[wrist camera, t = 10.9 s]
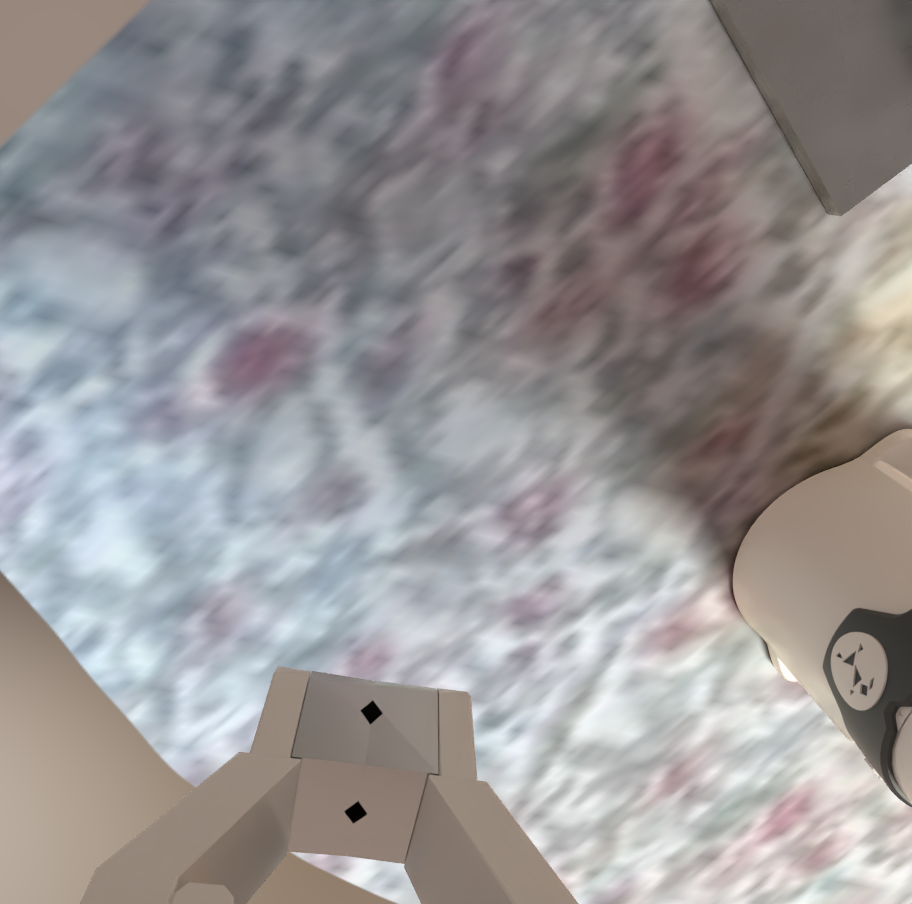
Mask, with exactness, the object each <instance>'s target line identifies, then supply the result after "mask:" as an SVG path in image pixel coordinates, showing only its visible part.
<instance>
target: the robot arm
mask: <svg viewBox="0 0 912 904" xmlns="http://www.w3.org/2000/svg"><path fill="white" fill-rule="evenodd" d="M733 591H734V596H735V600H736V603H737V606H738V608H739V611H740V612H741V614H742V616H743V617H744V619H745V620H746V622H747V623H748V624H749V625H750V626H751V627H752V628H753V629H754V630H755V631H756V632H757V633H758V634H759V635H760V636H761V637H762V638H763V639H764V640H765V642H766V643H767V645H768V649H769V653H770V657H771V660H772V663H773V665H774V667H775V668H776V670H777V671H778V672H779V673H780V674H781V675H782V677H783V678H785V679H786V680H788V681H792V682H799V683H800V684H801V685H802V687H803V688H804V689H805V690H806V691H807V693H808V694H809V695H810V696H811V697H812V698H813V700H814V701H815V702H816V703H817V704H818V705H819V707H820V708H821V709H822V710H823V711H824V712H825V714H826V715H827V716H828V717H829V718H830V719H831V720H832V722H833V723H834V724H835V725H836V726H837V727H838V728H839V730H840V731H841V732H842V733H843V734H844V735H845V736H846V737H847V738H848V739H849V740H850V741H851V742H853V743H854V744H856V745H857V746H858V747H859V749H860V750H861V751H862V753H863V754H864V756H865V757H866V758H865V761H866V762H867V763H868V765H869V766H870V767H871V769H872V770H873V771H874V772H875V774H876V775H877V776H878V777H879V778H880V779H881V780H882V781H883V782H885V783H886V785H887V786H888V787H889V788H890V790H891V791H892V792H893V793H894V794H895V795H896V796H897V797H898V798H899V799H900V800H901V801H903V802H904V803H905V804H907V805H909V806H911V807H912V429H902V430H898V431H896V432H894V433H892V434H890V435H888V436H887V437H885V438H884V439H882V440H881V441H879V442H878V443H877V444H875V445H874V446H873V447H871V448H870V449H869V450H867V451H866V452H865V453H864V454H862V455H861V456H860V457H858V458H856V459H854V460H852V461H850V462H848V463H845V464H843V465H840V466H837V467H834V468H831V469H829V470H826V471H823V472H821V473H818V474H816V475H814V476H812V477H810V478H808V479H806V480H804V481H802V482H800V483H799V484H797V485H795V486H794V487H792V488H791V489H789V490H788V491H786V492H785V493H784V494H782V495H781V496H780V497H779V498H777V499H776V500H775V501H774V502H773V503H772V504H771V505H770V506H769V507H768V508H767V509H766V510H765V511H764V512H763V513H762V514H761V515H760V516H759V517H758V519H757V520H756V521H755V523H754V524H753V525H752V527H751V528H750V530H749V531H748V533H747V534H746V536H745V538H744V540H743V542H742V544H741V546H740V549H739V551H738V554H737V557H736V560H735V565H734V571H733ZM287 851H288V852H301V853H315V854H328V855H341V856H351V857H358V858H365V859H373V860H380V861H388V862H395V863H402V864H405V865H404V868H405V870H406V872H407V874H408V876H409V878H410V881H411V883H412V885H413V887H414V889H415V891H416V893H417V895H418V898H419V900H420V902H421V904H578V903H577V901H576V900H575V899H574V897H573V896H572V895H571V893H570V892H569V891H568V889H567V888H566V887H565V885H564V884H563V883H562V881H561V880H560V879H559V877H558V876H557V875H556V873H555V872H554V871H553V869H552V868H551V867H550V865H549V864H548V863H547V861H546V860H545V859H544V857H543V856H542V855H541V853H540V852H539V851H538V849H537V848H536V847H535V845H534V844H533V843H532V841H531V840H530V839H529V837H528V836H527V835H526V833H525V832H524V831H523V829H522V828H521V827H520V825H519V824H518V823H517V821H516V820H515V819H514V817H513V816H512V815H511V813H510V812H509V811H508V809H507V808H506V807H505V805H504V804H503V803H502V801H501V800H500V799H499V797H498V796H497V795H496V793H495V792H494V791H493V789H492V788H491V787H490V785H489V784H488V783H487V782H484V781H477V771H476V758H475V744H474V731H473V718H472V705H471V696H470V695H469V693H468V692H463V691H455V690H447V689H438V688H437V690H436V689H435V688H428V687H420V686H412V685H404V684H397V683H389V682H381V681H371V680H365V679H359V678H353V677H346V676H340V675H334V674H328V673H322V672H315V671H311V672H310V671H304V670H298V669H292V668H286V667H280V666H278V667H277V669H276V671H275V672H274V675H273V678H272V681H271V685H270V688H269V691H268V694H267V698H266V701H265V704H264V708H263V711H262V714H261V717H260V721H259V724H258V727H257V731H256V734H255V737H254V741H253V744H252V747H251V750H250V753H245V752H239V753H238V754H236V755H235V756H234V757H233V758H231V759H230V760H229V761H228V762H227V763H225V764H224V765H223V766H222V767H220V768H219V769H218V770H217V771H216V772H214V773H213V774H212V775H211V776H209V777H208V778H207V779H206V780H205V781H203V782H202V783H201V784H200V785H198V786H197V787H196V788H195V789H194V790H192V791H191V792H190V793H189V794H187V795H186V796H185V797H184V798H183V799H181V800H180V801H179V802H178V803H176V804H175V805H174V806H173V807H172V808H170V809H169V810H168V811H167V812H165V813H164V814H163V815H162V816H160V817H159V818H158V819H157V820H156V821H154V822H153V823H152V824H151V825H149V826H148V827H147V828H146V829H145V830H143V831H142V832H141V833H140V834H138V835H137V836H136V837H135V838H134V839H132V840H131V841H130V842H129V843H127V844H126V845H125V846H124V847H123V848H121V849H120V850H119V851H118V852H116V853H115V854H114V855H113V856H112V857H111V858H109V859H108V860H107V861H106V862H104V863H103V864H102V865H101V866H99V867H98V868H97V869H96V870H95V873H94V875H93V877H92V879H91V881H90V883H89V885H88V887H87V890H86V892H85V894H84V896H83V898H82V900H81V902H80V904H247V903H248V901H249V900H250V899H251V898H252V896H253V895H254V894H255V893H256V891H257V890H258V889H259V888H260V887H261V886H262V884H263V883H264V882H265V881H266V879H267V878H268V877H269V876H270V875H271V873H272V872H273V871H274V870H275V869H276V867H277V866H278V865H279V864H280V863H281V861H282V860H283V859H284V857H285V856H286V854H287Z"/></svg>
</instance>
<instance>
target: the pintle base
mask: <svg viewBox="0 0 912 904" xmlns="http://www.w3.org/2000/svg"><path fill="white" fill-rule="evenodd" d="M710 2H711V4H712V5H713V7H714V9H715V11H716V13H717V14H718V16H719V18H720V20H721V22H722V23H723V25H724V27H725V29H726V31H727V32H728V34H729V36H730V38H731V40H732V41H733V43H734V45H735V47H736V49H737V50H738V52H739V54H740V56H741V58H742V59H743V61H744V63H745V65H746V67H747V69H748V70H749V72H750V74H751V76H752V78H753V79H754V81H755V83H756V85H757V87H758V88H759V90H760V92H761V94H762V96H763V97H764V99H765V101H766V103H767V105H768V106H769V108H770V110H771V112H772V114H773V115H774V117H775V119H776V121H777V123H778V124H779V126H780V128H781V130H782V132H783V133H784V135H785V137H786V139H787V141H788V142H789V144H790V146H791V148H792V150H793V151H794V153H795V155H796V157H797V159H798V160H799V162H800V164H801V166H802V168H803V170H804V171H805V173H806V175H807V177H808V179H809V180H810V182H811V184H812V186H813V188H814V189H815V191H816V193H817V195H818V197H819V198H820V200H821V202H822V204H823V206H824V207H825V209H826V211H827V213H828V214H831V215H838V216H842V215H843V214H844V213H846V212H847V211H849V210H850V209H851V208H853V207H854V206H855V205H857V204H858V203H859V202H861V201H862V200H863V199H865V198H866V197H867V196H869V195H870V194H871V193H873V192H874V191H875V190H877V189H878V188H879V187H881V186H882V185H883V184H885V183H886V182H888V181H889V180H890V179H892V178H893V177H894V176H896V175H897V174H898V173H900V172H901V171H902V170H904V169H905V168H906V167H908V166H909V165H910V164H912V0H710Z"/></svg>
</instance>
